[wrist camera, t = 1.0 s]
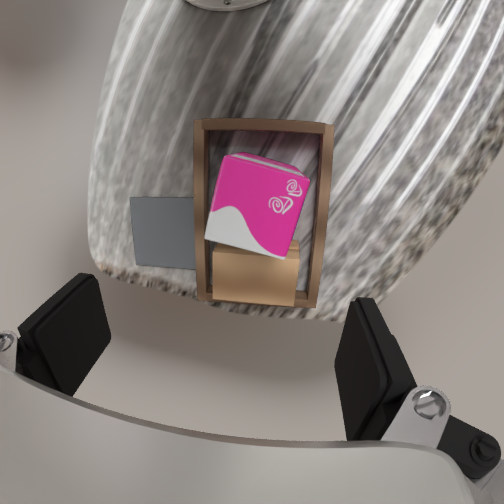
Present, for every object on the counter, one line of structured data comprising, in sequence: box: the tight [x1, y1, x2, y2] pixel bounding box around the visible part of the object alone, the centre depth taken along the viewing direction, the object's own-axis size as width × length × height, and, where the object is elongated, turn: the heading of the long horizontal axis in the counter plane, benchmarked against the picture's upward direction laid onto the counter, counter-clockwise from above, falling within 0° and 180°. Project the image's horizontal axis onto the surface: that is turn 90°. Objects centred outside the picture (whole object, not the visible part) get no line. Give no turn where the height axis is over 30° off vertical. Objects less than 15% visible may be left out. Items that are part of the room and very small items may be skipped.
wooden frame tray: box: [193, 118, 334, 308], centre depth 28 cm, size 19×13×3 cm
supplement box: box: [204, 152, 310, 260], centre depth 23 cm, size 6×6×12 cm
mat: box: [130, 197, 196, 269], centre depth 31 cm, size 8×8×1 cm
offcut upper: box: [213, 243, 300, 306], centre depth 29 cm, size 5×8×2 cm, turn 87°
